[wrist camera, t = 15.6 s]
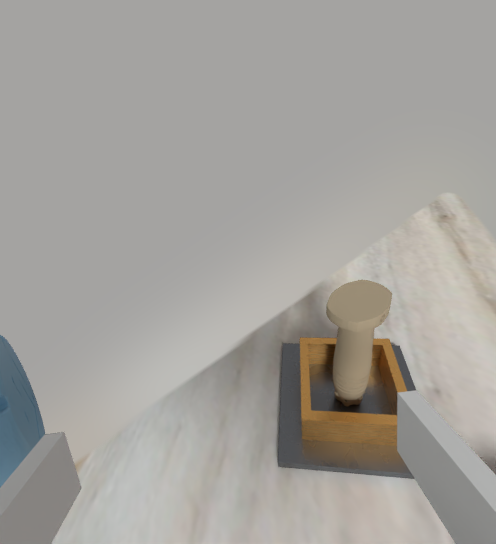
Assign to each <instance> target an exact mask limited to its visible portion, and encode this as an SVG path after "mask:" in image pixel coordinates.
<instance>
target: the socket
mask: <svg viewBox="0 0 496 544" xmlns="http://www.w3.org/2000/svg"><path fill="white" fill-rule="evenodd" d="M336 341H337V338H300V344H283V351H282V376H281V400H280V425H279V449H278V466H279V467H288V468H299V469H310V470H321V471H333V472H344V473H355V474H366V475H378V476H389V477H400V478H411V479H415V478H414V477H413V475H412V473H411V472H410V470H409V469H408V467H407V465H406V464H405V462H404V461H403V459H402V458H401V456H400V454H399V453H398V451H397V393H398V392H406V391H415V390H416V389H415V386H414V383H413V381H412V378H411V375H410V373H409V370H408V367H407V365H406V362H405V359H404V357H403V354H402V351H401V349H400V346H392V345H391V343H390V340H389V339H373V348H372V361H371V371H370V376H369V380H368V383H367V387H366V389H365V392H364V394H363V395H362V396H363V398H362V401H361V402H360V404H358V405H356V404H353V405H349V406H348V407H347V406H344V404H343V403H342V402H341V401H339V400H337V399H336V398H335V393H334V391H335V388H334V383H333V359H334V353H335V347H336Z"/></svg>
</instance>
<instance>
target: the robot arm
mask: <svg viewBox="0 0 496 544" xmlns="http://www.w3.org/2000/svg"><path fill="white" fill-rule="evenodd" d="M397 451H398V453H399V454H400V456H401V458H402V459H403V461H404V462H405V464H406V465H407V467H408V469H409V470H410V472H411V473H412V475H413V477H414V478H415V480H416V481H417V483H418V485H419V486H420V488H421V489H422V491H423V492H424V494H425V496H426V497H427V499H428V500H429V502H430V504H431V505H432V507H433V508H434V510H435V511H436V513H437V515H438V516H439V518H440V519H441V521H442V523H443V524H444V526H445V527H446V529H447V530H448V532H449V534H450V535H451V537H452V538H453V540H454V542H455V543H456V544H496V474H495V473H494V472H493V471H492V470H491V469H490V468H489V467H488V466H487V465H486V464H485V463H484V462H483V460H482V459H481V458H480V457H479V456H478V455H477V454H476V453H475V452H474V451H473V450H472V449H471V448H470V447H469V445H468V444H467V443H466V442H465V441H464V440H463V439H462V438H461V437H460V436H459V435H458V434H457V433H456V432H455V431H454V429H453V428H452V427H451V426H450V425H449V424H448V423H447V422H446V421H445V420H444V419H443V418H442V417H441V416H440V414H439V413H438V412H437V411H436V410H435V409H434V408H433V407H432V406H431V405H430V404H429V403H428V402H427V401H426V400H425V398H424V397H423V396H422V395H421V394H420V393H419V392H418V391H417V390H415V391H406V392H398V393H397ZM80 490H81V485H80V481H79V478H78V475H77V472H76V469H75V465H74V462H73V459H72V456H71V453H70V450H69V446H68V443H67V440H66V437H65V433H64V432H61V433H53V434H45V430H44V426H43V422H42V418H41V414H40V411H39V408H38V404H37V401H36V398H35V396H34V393H33V390H32V388H31V385H30V382H29V380H28V378H27V376H26V373H25V371H24V369H23V367H22V365H21V363H20V361H19V359H18V357H17V355H16V353H15V352H14V350H13V349H12V347H11V345H10V344H9V343H8V341H7V340H6V339H5V338H4V337H3V336H1V335H0V544H51V543H52V541H53V539H54V537H55V536H56V534H57V532H58V530H59V528H60V526H61V525H62V523H63V521H64V519H65V517H66V515H67V514H68V512H69V510H70V508H71V506H72V505H73V503H74V501H75V499H76V497H77V495H78V494H79V492H80Z"/></svg>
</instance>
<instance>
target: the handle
mask: <svg viewBox="0 0 496 544" xmlns="http://www.w3.org/2000/svg"><path fill="white" fill-rule="evenodd" d="M391 299H392V293H391V292H390V291H389V290H388V289H387V288H386V287H384V286H382V285H380V284H378V283H375V282H372V281H368V280H358V281H354V282H350V283H347V284H344V285H342V286H341V287H339V288H338V289H337V290H335V291H334V292H333V293H332V294H331V295H330V297H329V300H328V303H327V310H326V313H327V316H328V318H329V319H330V321H331V322H333V323H334V324H335V325H337V326H338V327H339V328H338V334H337V341H336V347H335V353H334V359H333V383H334V388H335V391H334V393H335V398H336V399H337V400H339V401H341V402H342V403H343V404H344V406H347V407H348V406H349V405H353V404H356V405H358V404H360V402H361V401H362V398H363V396H362V395H363V394H364V392H365V389H366V387H367V383H368V380H369V376H370V371H371V361H372V348H373V337H374V328H376V327H378V326H379V325H381V324H382V323H383V322H384V320H385V319H386V317H387V316H388V313H389V309H390V305H391Z"/></svg>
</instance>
